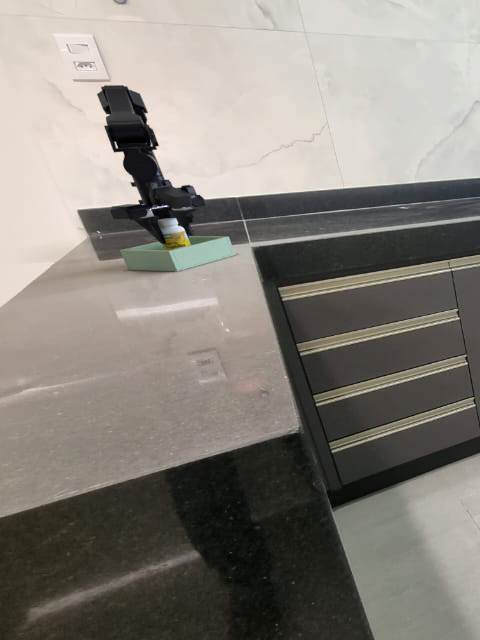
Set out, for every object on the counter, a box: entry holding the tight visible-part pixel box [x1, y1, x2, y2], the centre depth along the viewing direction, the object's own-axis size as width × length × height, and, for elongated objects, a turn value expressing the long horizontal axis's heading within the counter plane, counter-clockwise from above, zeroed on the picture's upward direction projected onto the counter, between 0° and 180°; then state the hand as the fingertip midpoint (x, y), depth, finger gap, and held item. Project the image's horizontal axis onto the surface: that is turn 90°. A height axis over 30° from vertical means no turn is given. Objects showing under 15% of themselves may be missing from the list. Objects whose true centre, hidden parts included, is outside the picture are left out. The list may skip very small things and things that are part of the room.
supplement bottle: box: [158, 218, 191, 250], centre depth 133 cm, size 5×5×10 cm
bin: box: [119, 235, 236, 272], centre depth 135 cm, size 16×16×5 cm
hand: (175, 241), depth 133 cm, fingers closed on supplement bottle, 5 cm apart
